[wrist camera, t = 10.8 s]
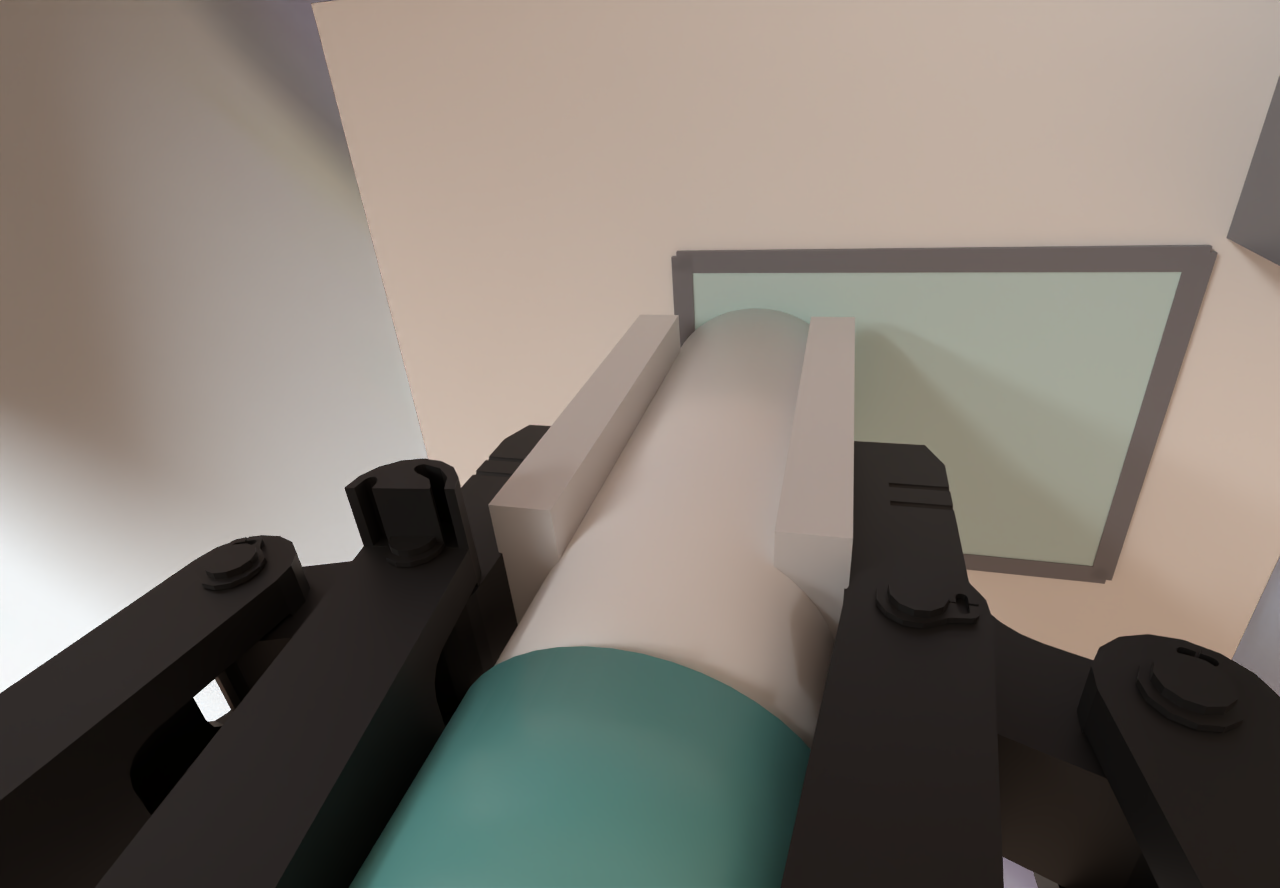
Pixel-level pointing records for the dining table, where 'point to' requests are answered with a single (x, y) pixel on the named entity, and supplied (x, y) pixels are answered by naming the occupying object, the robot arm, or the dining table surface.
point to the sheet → (867, 250)
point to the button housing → (1262, 192)
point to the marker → (645, 665)
